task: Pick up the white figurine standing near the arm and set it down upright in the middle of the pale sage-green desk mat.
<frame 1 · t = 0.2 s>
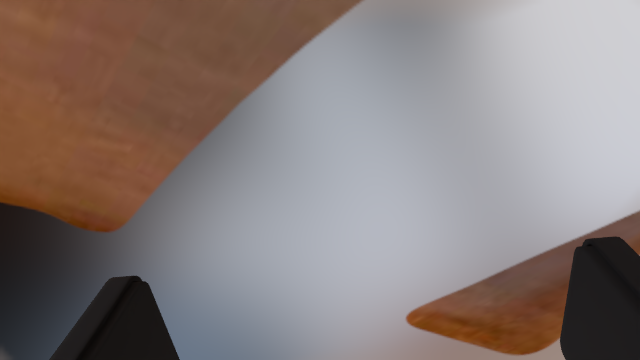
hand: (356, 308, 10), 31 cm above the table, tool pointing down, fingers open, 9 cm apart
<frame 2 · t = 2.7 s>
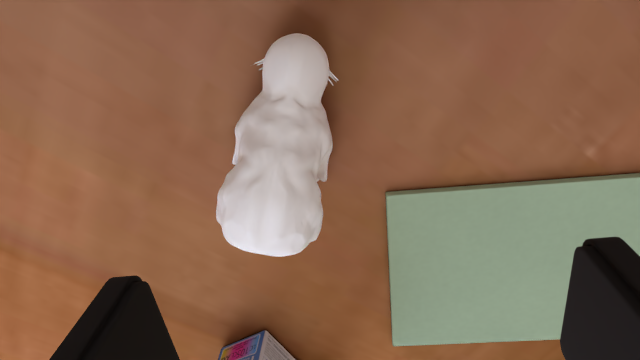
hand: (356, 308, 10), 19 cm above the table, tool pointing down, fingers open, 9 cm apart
desk mat: (519, 266, 33), on the table
white figurine: (290, 118, 28), on the table
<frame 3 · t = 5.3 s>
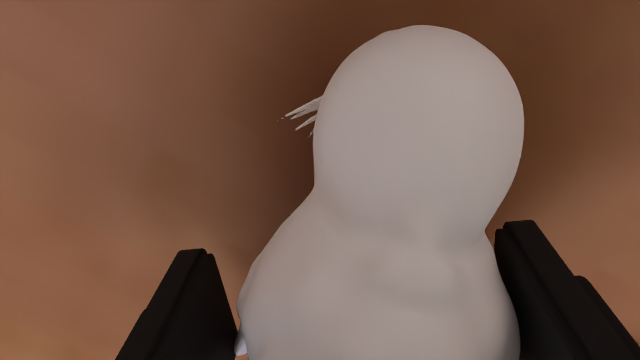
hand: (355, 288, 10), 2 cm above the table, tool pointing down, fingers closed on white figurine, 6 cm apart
white figurine: (364, 224, 12), on the table, touching gripper
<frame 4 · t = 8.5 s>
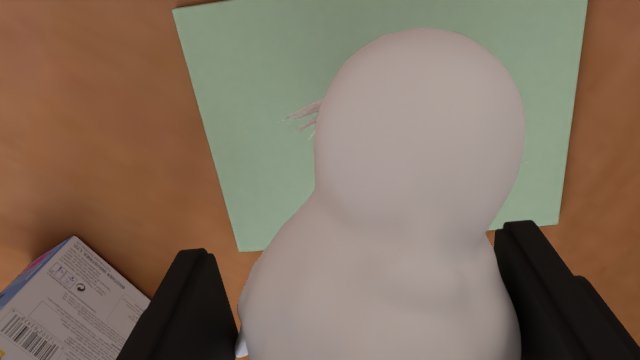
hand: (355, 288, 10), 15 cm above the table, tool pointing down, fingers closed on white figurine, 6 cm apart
desk mat: (382, 123, 24), on the table
ink cartridge box: (104, 291, 31), on the table
white figurine: (364, 226, 12), point 13 cm above the table, touching gripper
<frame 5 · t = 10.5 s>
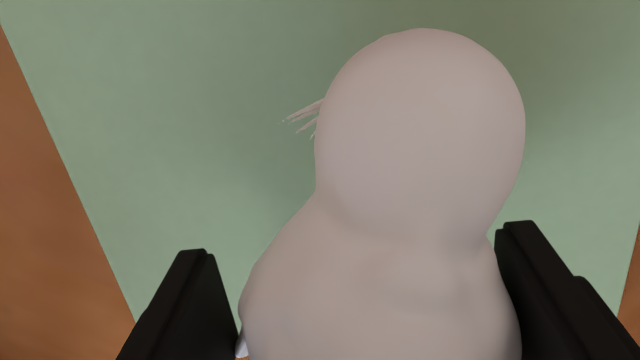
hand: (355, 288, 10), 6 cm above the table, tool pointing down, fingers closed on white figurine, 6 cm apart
desk mat: (350, 175, 15), on the table
white figurine: (365, 226, 12), point 3 cm above the table, touching gripper
when the fingers open (3 cm above the table, at t = 11.8 s): white figurine stays where it is, resting on desk mat.
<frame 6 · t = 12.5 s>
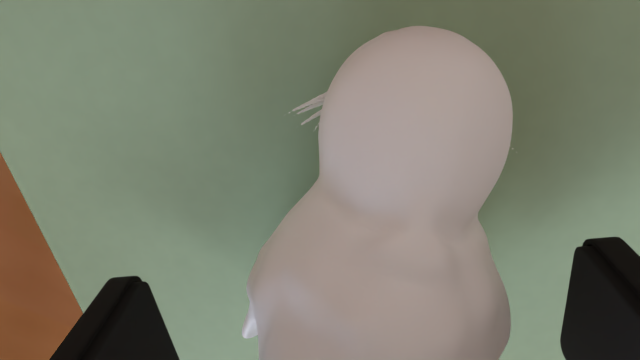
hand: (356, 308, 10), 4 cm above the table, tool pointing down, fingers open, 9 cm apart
desk mat: (355, 213, 13), on the table
white figurine: (365, 216, 13), resting on desk mat
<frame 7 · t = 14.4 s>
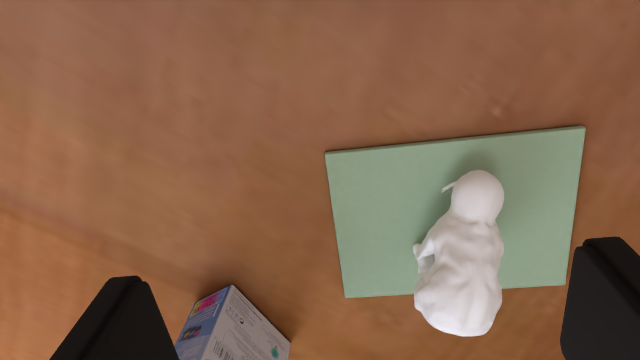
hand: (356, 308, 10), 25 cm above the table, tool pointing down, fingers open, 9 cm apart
desk mat: (449, 219, 37), on the table
ink cartridge box: (242, 322, 44), on the table
white figurine: (454, 220, 37), resting on desk mat
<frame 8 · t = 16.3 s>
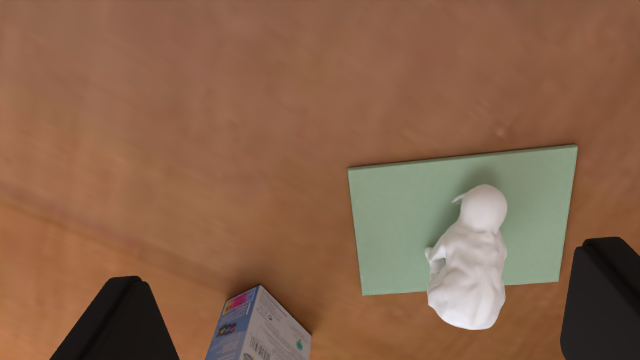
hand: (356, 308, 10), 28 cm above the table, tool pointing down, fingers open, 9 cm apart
desk mat: (457, 225, 42), on the table
ink cartridge box: (268, 317, 49), on the table
white figurine: (461, 226, 41), resting on desk mat
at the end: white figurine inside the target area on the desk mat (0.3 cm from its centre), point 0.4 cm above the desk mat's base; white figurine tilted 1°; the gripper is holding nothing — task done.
